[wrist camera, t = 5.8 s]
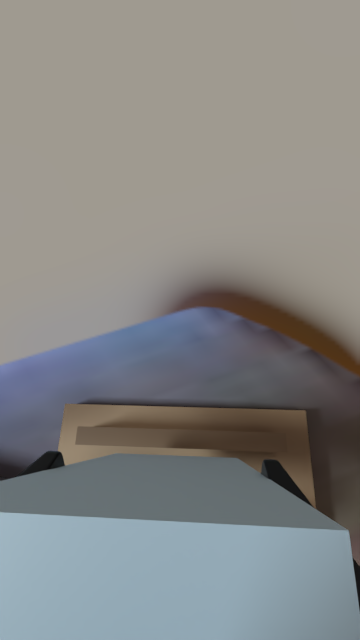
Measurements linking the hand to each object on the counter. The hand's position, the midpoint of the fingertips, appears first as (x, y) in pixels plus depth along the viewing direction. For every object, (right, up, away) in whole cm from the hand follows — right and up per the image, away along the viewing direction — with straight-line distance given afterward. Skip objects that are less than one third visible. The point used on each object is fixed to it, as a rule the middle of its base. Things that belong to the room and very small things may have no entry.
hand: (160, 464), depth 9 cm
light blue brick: (0, -4, +5) cm, 7 cm away
